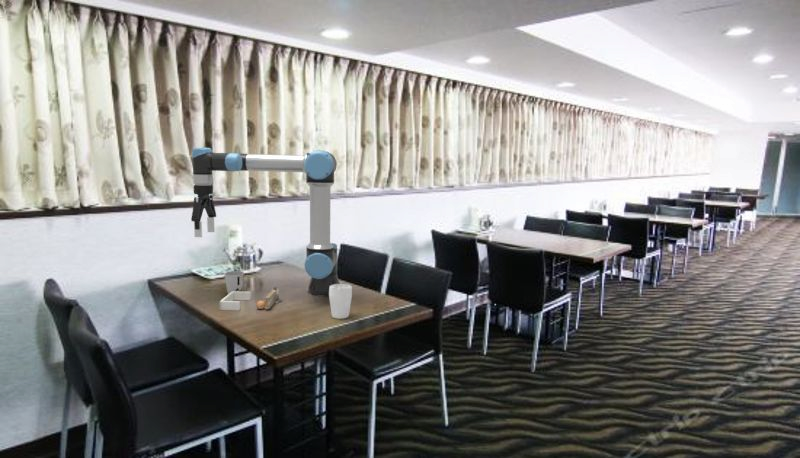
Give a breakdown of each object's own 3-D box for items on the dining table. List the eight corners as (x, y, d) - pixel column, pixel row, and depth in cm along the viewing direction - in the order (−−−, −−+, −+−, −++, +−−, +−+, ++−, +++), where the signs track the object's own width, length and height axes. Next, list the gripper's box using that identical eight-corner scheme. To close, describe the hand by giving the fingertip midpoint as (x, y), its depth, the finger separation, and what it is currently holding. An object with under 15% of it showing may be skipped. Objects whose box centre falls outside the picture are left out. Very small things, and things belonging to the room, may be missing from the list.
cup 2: (340, 310, 189) (341, 282, 187) (356, 316, 183) (356, 286, 181) (324, 316, 182) (324, 286, 180) (339, 321, 176) (340, 291, 174)
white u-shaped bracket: (250, 299, 201) (250, 291, 200) (239, 310, 186) (239, 302, 185) (232, 299, 200) (231, 291, 200) (219, 310, 186) (219, 301, 185)
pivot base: (283, 299, 203) (283, 298, 202) (280, 303, 197) (280, 302, 197) (270, 298, 202) (270, 297, 202) (266, 302, 196) (266, 302, 196)
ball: (266, 307, 190) (266, 299, 190) (264, 310, 187) (264, 302, 186) (258, 307, 190) (257, 299, 190) (255, 310, 187) (255, 301, 186)
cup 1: (238, 298, 202) (237, 275, 201) (221, 296, 204) (220, 274, 202) (247, 293, 210) (247, 271, 209) (231, 291, 212) (231, 270, 210)
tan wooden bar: (279, 298, 201) (279, 286, 200) (271, 308, 187) (270, 296, 186) (272, 298, 201) (272, 286, 200) (263, 308, 186) (263, 296, 186)
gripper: (205, 183, 206) (207, 229, 210) (180, 186, 182) (183, 239, 185) (222, 183, 207) (224, 230, 210) (200, 186, 182) (202, 239, 185)
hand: (204, 234), depth 197 cm, fingers open, 13 cm apart
